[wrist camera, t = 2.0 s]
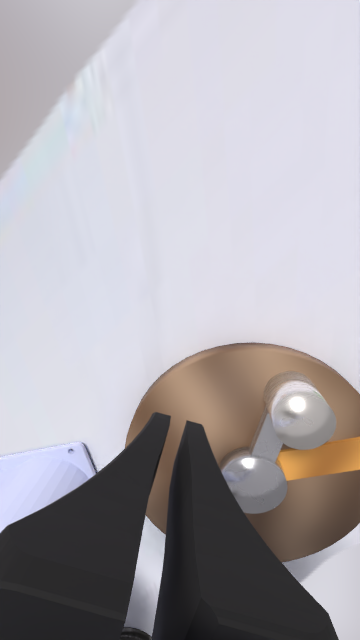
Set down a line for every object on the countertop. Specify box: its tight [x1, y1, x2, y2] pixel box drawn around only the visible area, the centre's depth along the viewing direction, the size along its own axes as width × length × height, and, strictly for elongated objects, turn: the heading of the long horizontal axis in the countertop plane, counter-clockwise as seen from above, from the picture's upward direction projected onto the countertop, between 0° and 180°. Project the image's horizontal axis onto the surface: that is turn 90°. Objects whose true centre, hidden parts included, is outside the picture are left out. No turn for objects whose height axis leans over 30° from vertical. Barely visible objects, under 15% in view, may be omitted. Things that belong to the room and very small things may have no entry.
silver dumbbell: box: [219, 371, 336, 514], centre depth 18 cm, size 11×4×4 cm, turn 166°
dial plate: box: [125, 343, 360, 562], centre depth 22 cm, size 18×18×2 cm
